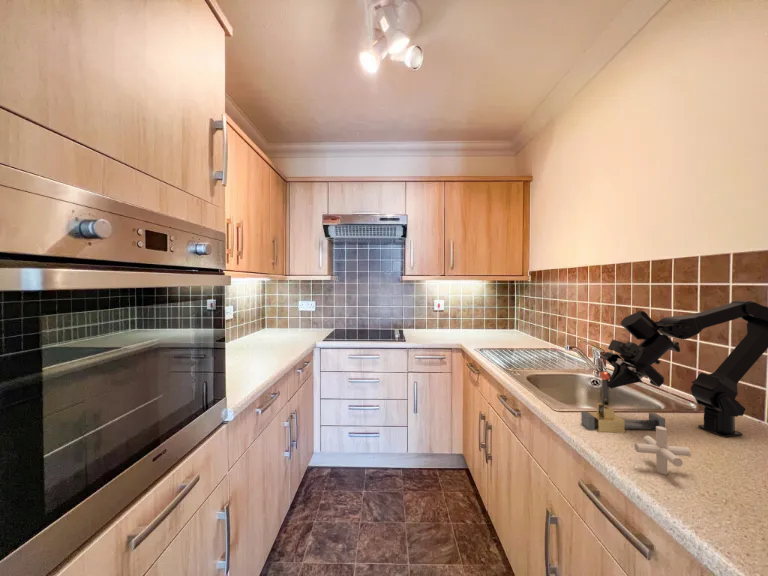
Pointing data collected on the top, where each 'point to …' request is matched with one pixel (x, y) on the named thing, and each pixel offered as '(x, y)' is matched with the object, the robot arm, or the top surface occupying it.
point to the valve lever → (605, 390)
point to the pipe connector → (662, 450)
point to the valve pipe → (617, 421)
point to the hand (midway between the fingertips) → (608, 387)
